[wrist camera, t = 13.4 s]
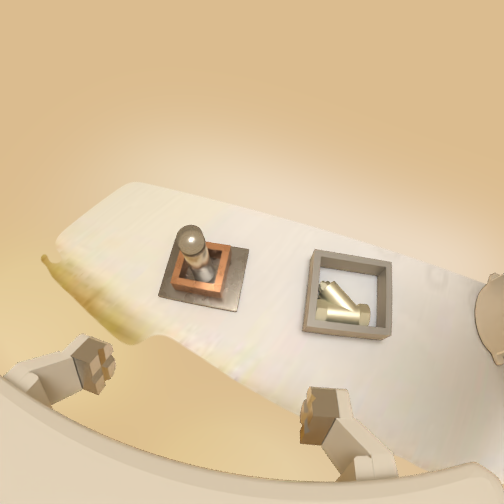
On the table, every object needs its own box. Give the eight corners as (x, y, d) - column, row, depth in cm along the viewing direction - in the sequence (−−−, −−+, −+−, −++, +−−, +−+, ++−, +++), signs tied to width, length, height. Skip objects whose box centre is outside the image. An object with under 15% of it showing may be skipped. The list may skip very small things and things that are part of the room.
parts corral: (382, 271, 44) (391, 262, 41) (381, 339, 39) (391, 335, 36) (310, 259, 45) (314, 249, 42) (302, 331, 40) (306, 326, 37)
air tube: (216, 263, 44) (205, 226, 34) (212, 284, 43) (199, 251, 33) (196, 260, 44) (179, 223, 34) (191, 280, 43) (172, 247, 33)
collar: (248, 250, 46) (248, 239, 43) (236, 312, 41) (235, 305, 38) (176, 239, 47) (171, 228, 43) (159, 296, 42) (152, 288, 39)
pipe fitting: (313, 285, 44) (310, 327, 41) (318, 274, 41) (315, 319, 37) (361, 291, 44) (361, 332, 40) (370, 281, 40) (371, 324, 37)
